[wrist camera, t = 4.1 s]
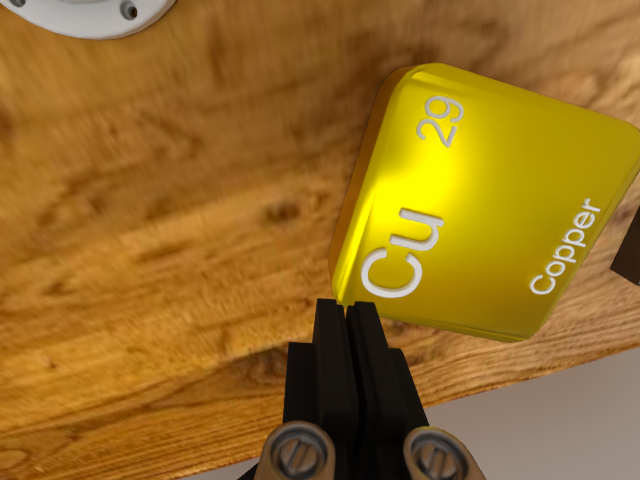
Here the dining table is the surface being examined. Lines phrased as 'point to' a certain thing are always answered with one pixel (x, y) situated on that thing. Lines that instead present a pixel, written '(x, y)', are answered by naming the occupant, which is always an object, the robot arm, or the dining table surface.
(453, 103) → the element tile
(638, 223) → the walnut ledge
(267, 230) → the dining table surface
